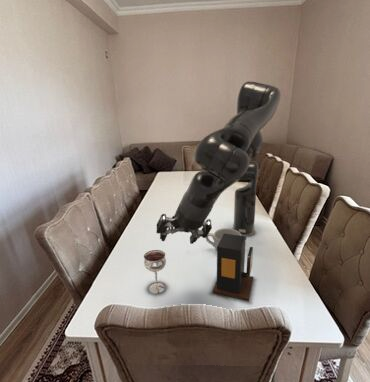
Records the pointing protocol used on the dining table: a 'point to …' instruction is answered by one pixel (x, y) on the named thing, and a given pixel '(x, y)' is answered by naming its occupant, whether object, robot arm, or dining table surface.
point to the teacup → (219, 234)
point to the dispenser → (232, 268)
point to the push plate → (249, 262)
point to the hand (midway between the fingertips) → (177, 239)
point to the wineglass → (155, 267)
